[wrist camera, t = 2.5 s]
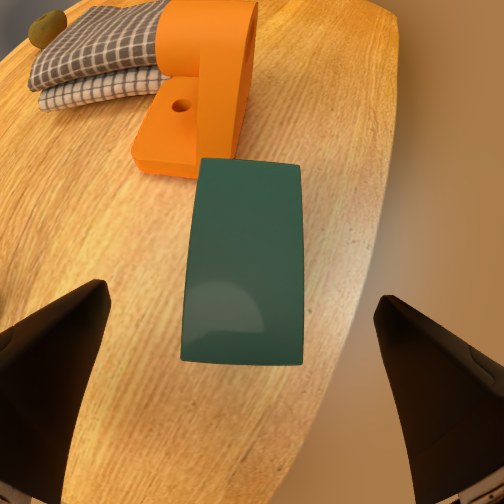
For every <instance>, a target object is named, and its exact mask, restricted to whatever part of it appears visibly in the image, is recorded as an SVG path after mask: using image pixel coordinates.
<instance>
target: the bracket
mask: <svg viewBox="0 0 504 504" xmlns="http://www.w3.org/2000/svg"><path fill="white" fill-rule="evenodd" d="M257 16H258V2H254V1H245V0H171V1H170V2H169V3H168V4H167V5H166V7H165V8H164V10H163V12H162V14H161V17H160V19H159V23H158V26H157V31H156V39H155V54H156V61H157V65H158V68H159V70H160V72H161V73H162V74H163V75H164V76H172V78H170V79H168V80H164V81H163V83H162V85H161V87H160V88H159V90H158V92H157V94H156V96H155V98H154V100H153V102H152V104H151V106H150V108H149V110H148V112H147V114H146V116H145V118H144V120H143V123H142V125H141V127H140V129H139V131H138V134H137V136H136V138H135V141H134V143H133V145H132V148H131V154H132V156H133V158H134V160H135V162H136V164H137V166H138V168H139V170H140V171H142V172H144V173H151V174H160V175H169V176H177V177H185V178H193V179H198V175H199V168H200V162H201V159H202V158H224V159H234V158H235V154H236V149H237V145H238V140H239V136H240V131H241V127H242V122H243V118H244V114H245V109H246V102H247V98H248V94H249V90H250V86H251V79H252V71H253V60H254V48H255V37H256V26H257Z"/></svg>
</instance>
